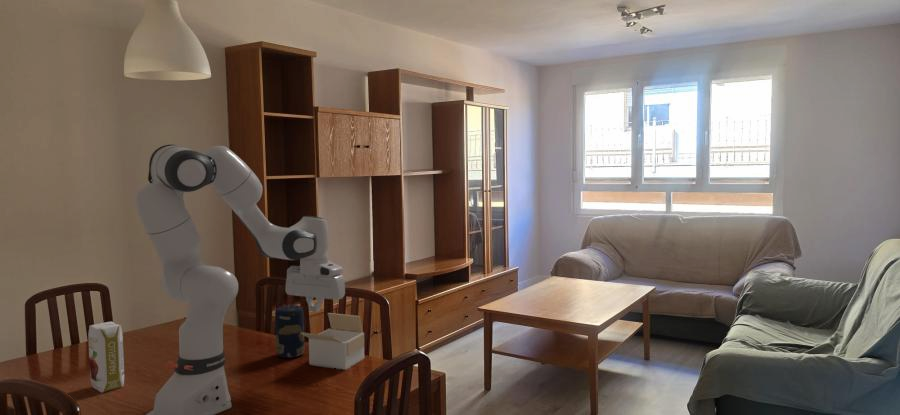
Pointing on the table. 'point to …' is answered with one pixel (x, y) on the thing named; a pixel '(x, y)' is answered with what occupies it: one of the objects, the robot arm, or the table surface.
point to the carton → (337, 349)
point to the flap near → (321, 337)
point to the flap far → (345, 322)
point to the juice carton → (106, 356)
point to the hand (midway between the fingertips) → (314, 311)
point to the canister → (289, 331)
